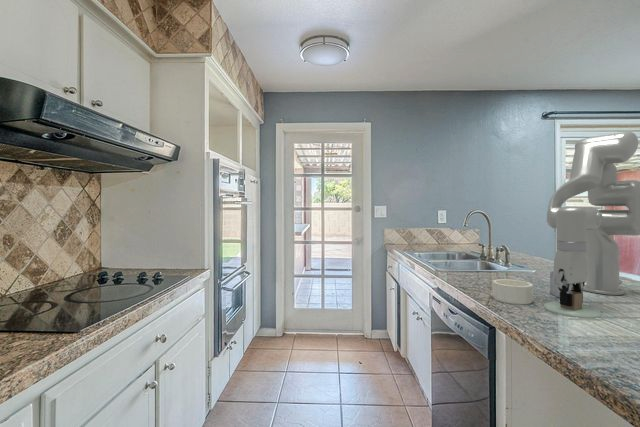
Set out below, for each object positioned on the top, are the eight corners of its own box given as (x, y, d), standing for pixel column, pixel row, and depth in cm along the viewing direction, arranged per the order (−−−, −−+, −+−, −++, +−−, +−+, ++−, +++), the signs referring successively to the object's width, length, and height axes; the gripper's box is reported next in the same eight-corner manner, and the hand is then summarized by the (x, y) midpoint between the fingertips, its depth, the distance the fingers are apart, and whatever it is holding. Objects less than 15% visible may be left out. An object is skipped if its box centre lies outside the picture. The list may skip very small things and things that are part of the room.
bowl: (507, 293, 120) (507, 278, 120) (540, 302, 109) (540, 284, 109) (485, 297, 116) (485, 281, 116) (517, 306, 105) (517, 288, 105)
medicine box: (575, 300, 112) (575, 275, 112) (561, 299, 113) (561, 275, 112) (563, 294, 119) (563, 271, 119) (549, 293, 120) (549, 271, 120)
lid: (560, 303, 109) (560, 285, 109) (611, 315, 96) (610, 295, 96) (534, 308, 104) (534, 289, 103) (584, 322, 91) (584, 300, 91)
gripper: (573, 244, 107) (573, 298, 107) (541, 247, 100) (541, 304, 100) (600, 246, 100) (600, 304, 100) (568, 249, 93) (568, 311, 93)
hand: (571, 303), depth 100 cm, fingers open, 4 cm apart
